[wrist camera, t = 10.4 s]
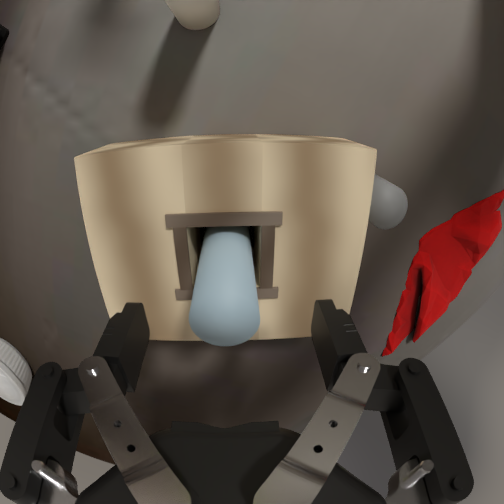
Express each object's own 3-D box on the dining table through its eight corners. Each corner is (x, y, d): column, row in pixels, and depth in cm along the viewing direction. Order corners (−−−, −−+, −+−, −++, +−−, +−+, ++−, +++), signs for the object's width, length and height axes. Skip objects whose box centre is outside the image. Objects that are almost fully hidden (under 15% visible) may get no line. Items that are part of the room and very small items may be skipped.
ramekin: (-3, 321, 28) (-21, 345, 23) (49, 376, 32) (37, 402, 28) (-24, 339, 29) (-38, 360, 25) (20, 385, 34) (9, 407, 30)
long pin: (247, 202, 23) (261, 291, 12) (247, 240, 24) (259, 345, 14) (206, 203, 23) (184, 292, 12) (208, 240, 24) (192, 346, 14)
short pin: (379, 170, 22) (411, 186, 18) (375, 206, 24) (403, 229, 19) (345, 167, 22) (371, 183, 18) (341, 205, 24) (365, 229, 19)
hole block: (342, 138, 21) (378, 150, 15) (325, 290, 27) (345, 335, 22) (110, 143, 20) (72, 158, 14) (135, 295, 26) (116, 339, 21)
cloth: (491, 148, 22) (505, 152, 20) (519, 228, 27) (529, 235, 25) (328, 315, 30) (334, 329, 28) (388, 361, 34) (394, 373, 32)
